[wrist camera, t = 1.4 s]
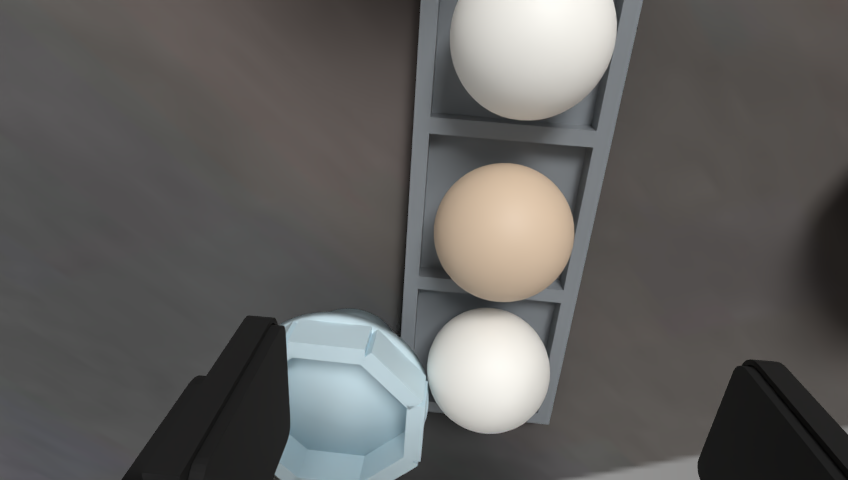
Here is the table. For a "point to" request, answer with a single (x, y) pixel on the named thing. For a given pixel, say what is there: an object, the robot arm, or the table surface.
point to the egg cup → (351, 399)
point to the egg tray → (489, 144)
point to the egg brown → (504, 232)
